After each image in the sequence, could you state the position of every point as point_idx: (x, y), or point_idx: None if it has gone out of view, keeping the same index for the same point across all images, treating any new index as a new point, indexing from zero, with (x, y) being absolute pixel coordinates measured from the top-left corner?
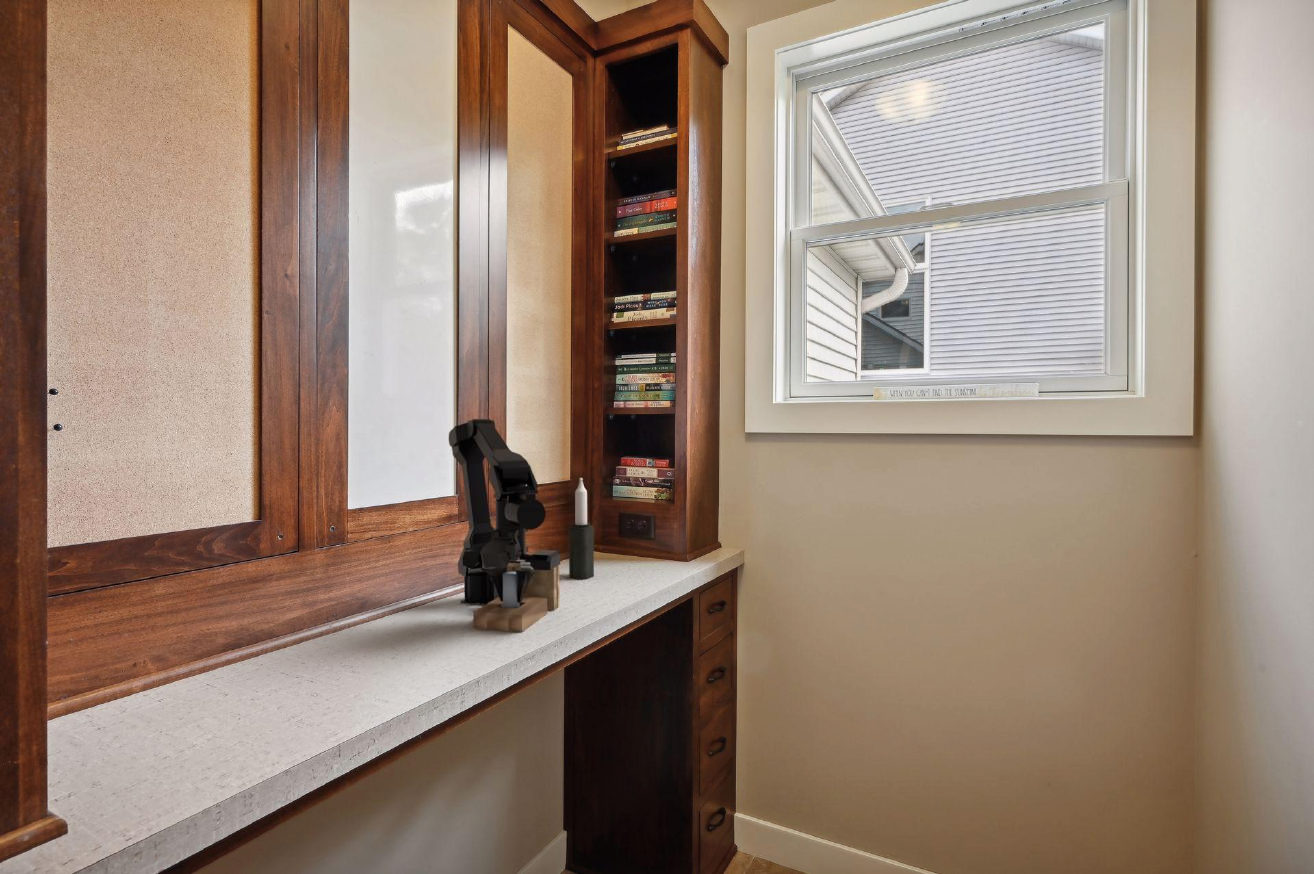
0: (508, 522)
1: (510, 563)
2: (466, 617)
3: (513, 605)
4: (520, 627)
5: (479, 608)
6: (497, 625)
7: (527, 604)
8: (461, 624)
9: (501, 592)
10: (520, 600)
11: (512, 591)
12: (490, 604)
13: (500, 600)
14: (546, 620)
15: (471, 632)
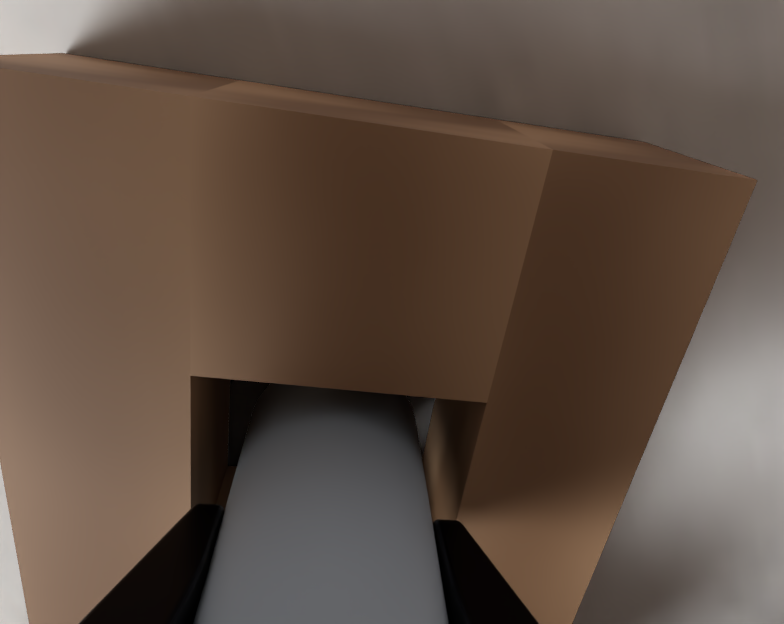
0: None
1: None
2: (749, 439)
3: (267, 447)
4: (59, 57)
5: (687, 335)
6: (373, 107)
7: (143, 532)
8: (776, 261)
9: (466, 612)
10: (182, 532)
11: (246, 613)
12: (579, 486)
13: None
14: None
15: (642, 4)
